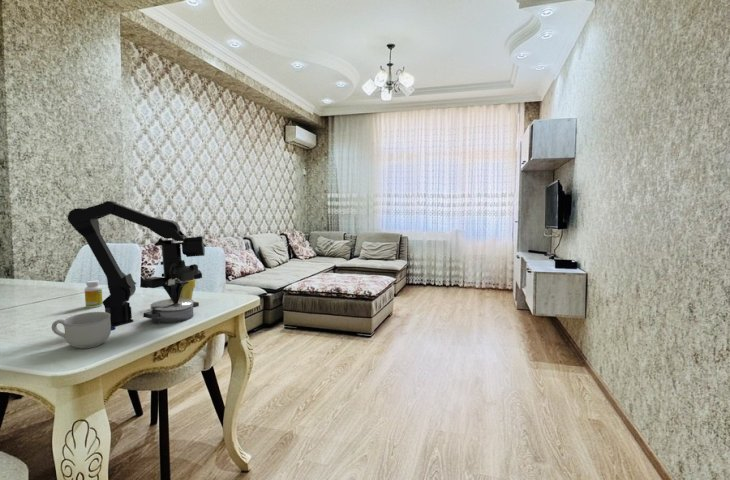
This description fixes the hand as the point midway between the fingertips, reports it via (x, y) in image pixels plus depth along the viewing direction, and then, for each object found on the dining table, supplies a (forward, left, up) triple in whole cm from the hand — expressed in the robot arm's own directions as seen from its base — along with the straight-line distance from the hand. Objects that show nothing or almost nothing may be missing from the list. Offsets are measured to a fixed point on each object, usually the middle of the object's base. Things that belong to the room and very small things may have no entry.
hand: (175, 303), depth 134 cm
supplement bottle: (-4, +43, -6) cm, 43 cm away
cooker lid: (0, +1, -1) cm, 2 cm away
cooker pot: (0, +2, -5) cm, 6 cm away
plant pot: (+14, +16, -6) cm, 21 cm away
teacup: (-29, 0, -6) cm, 29 cm away
